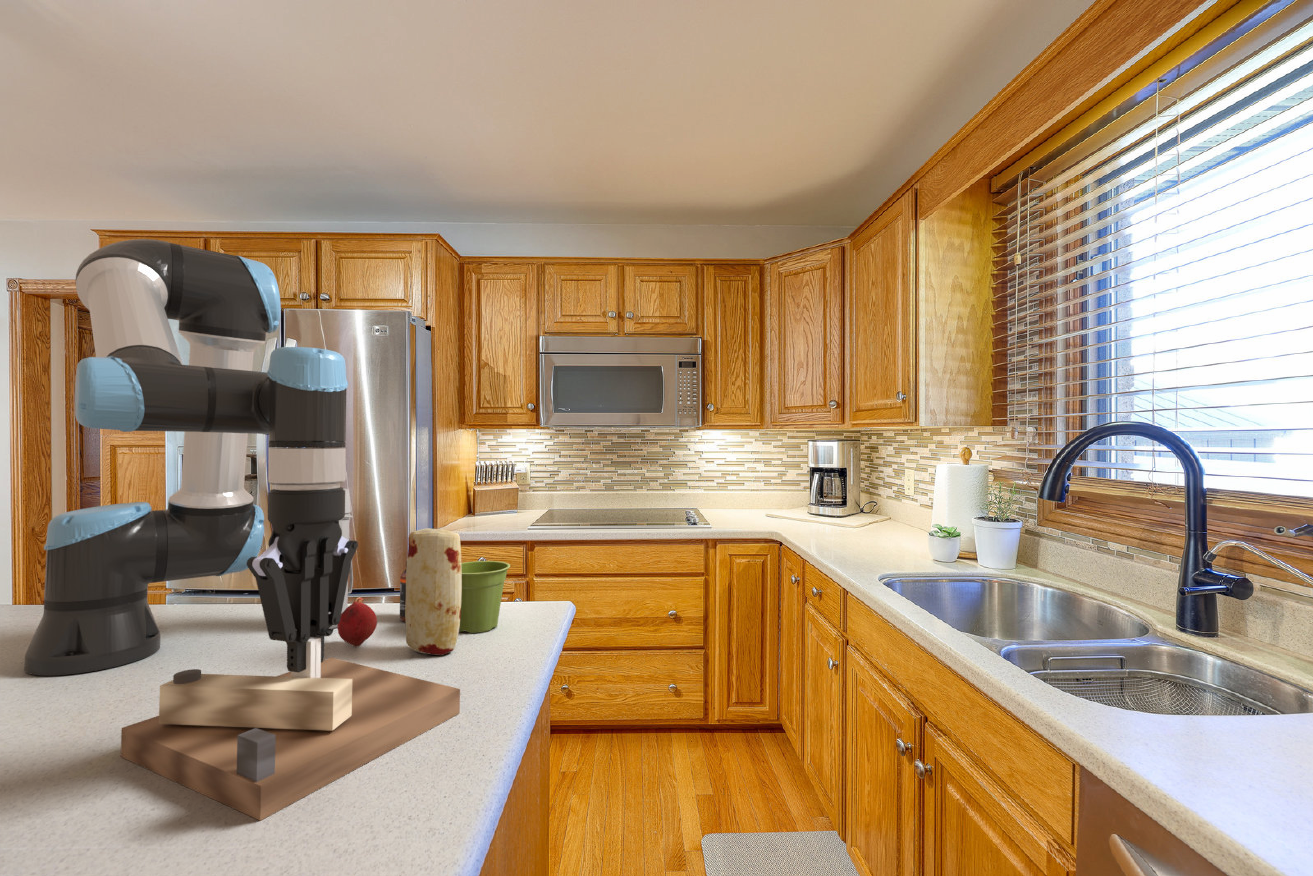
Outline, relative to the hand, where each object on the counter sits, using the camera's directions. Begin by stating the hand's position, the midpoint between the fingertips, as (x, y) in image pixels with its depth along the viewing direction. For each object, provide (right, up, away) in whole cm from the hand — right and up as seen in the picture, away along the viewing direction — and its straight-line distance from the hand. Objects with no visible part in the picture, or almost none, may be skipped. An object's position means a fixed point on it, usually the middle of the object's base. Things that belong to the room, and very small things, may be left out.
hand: (305, 696), depth 67 cm
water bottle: (-21, -6, +43) cm, 48 cm away
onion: (-10, -6, +31) cm, 33 cm away
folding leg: (-4, -1, -3) cm, 5 cm away
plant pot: (+6, -6, +42) cm, 43 cm away
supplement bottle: (-7, -6, +48) cm, 48 cm away
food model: (+3, -6, +29) cm, 30 cm away
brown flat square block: (-1, -5, +2) cm, 5 cm away
